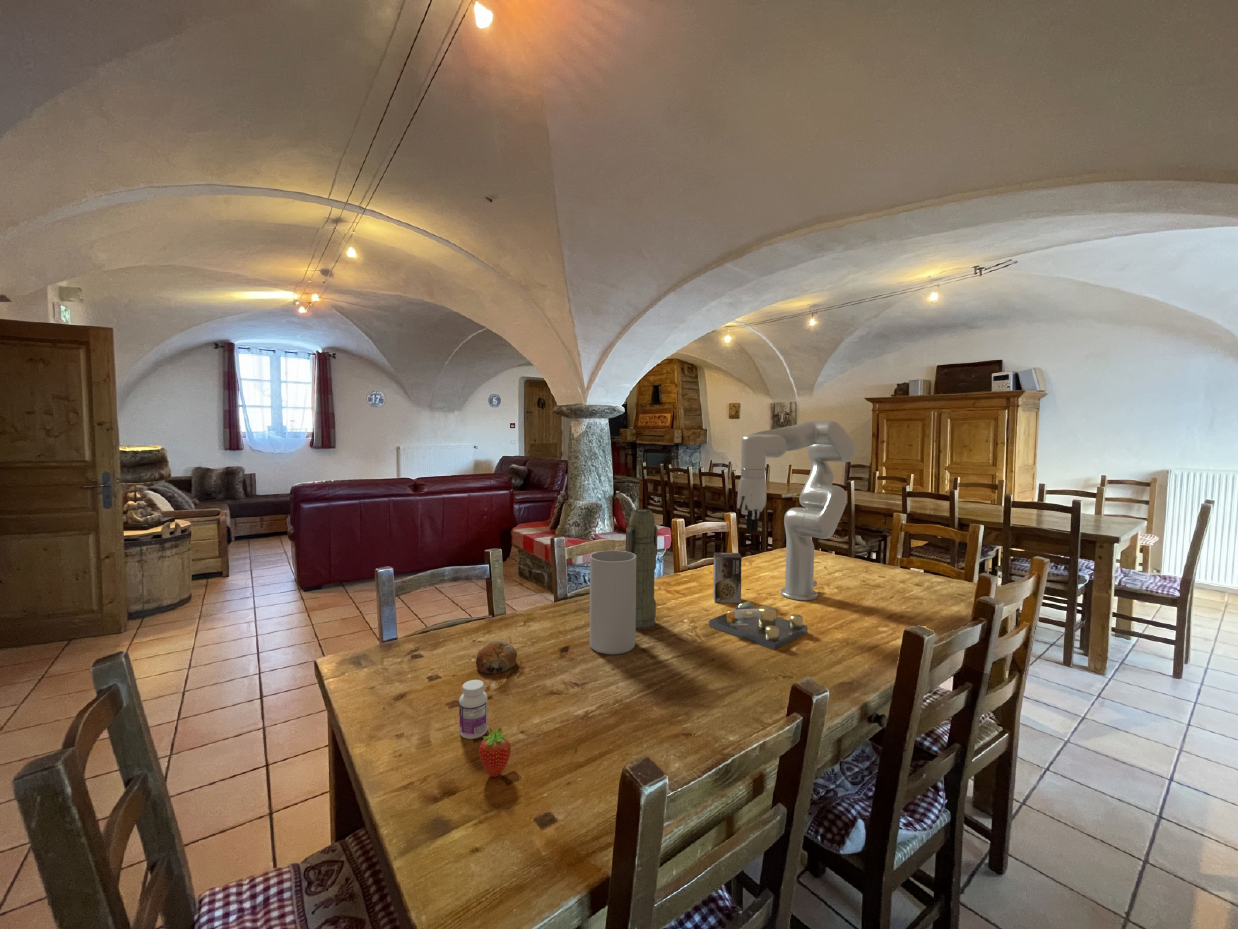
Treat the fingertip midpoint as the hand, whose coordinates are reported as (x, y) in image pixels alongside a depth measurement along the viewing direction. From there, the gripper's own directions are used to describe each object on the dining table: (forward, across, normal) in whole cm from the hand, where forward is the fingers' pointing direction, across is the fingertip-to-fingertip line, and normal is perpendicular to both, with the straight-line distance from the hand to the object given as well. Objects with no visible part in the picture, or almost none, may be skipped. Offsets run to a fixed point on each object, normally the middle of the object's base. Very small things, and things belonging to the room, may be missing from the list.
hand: (751, 530), depth 166 cm
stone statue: (+27, +34, -16) cm, 46 cm away
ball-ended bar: (+25, +15, +10) cm, 31 cm away
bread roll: (+26, +81, -21) cm, 87 cm away
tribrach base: (+27, +11, +10) cm, 31 cm away
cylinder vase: (+26, +51, -10) cm, 59 cm away
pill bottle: (+26, +98, +1) cm, 102 cm away
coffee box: (+27, -4, -12) cm, 30 cm away
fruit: (+26, +101, +15) cm, 106 cm away
